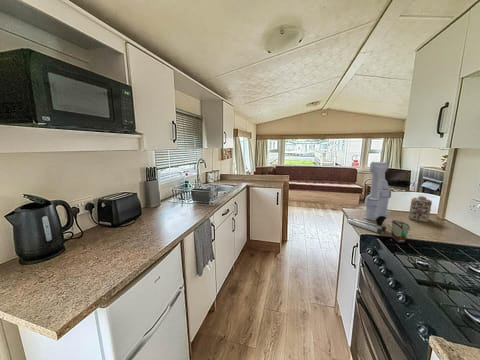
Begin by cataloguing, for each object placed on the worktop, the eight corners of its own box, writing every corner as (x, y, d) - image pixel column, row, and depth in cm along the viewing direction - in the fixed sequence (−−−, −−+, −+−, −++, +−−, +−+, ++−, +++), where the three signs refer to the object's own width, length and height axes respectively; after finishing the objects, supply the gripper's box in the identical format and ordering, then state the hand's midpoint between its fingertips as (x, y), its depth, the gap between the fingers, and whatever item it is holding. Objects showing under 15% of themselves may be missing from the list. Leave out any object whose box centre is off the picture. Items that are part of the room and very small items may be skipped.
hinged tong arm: (348, 222, 149) (349, 218, 149) (349, 221, 150) (350, 217, 150) (385, 231, 134) (385, 227, 134) (385, 230, 136) (386, 226, 135)
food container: (412, 245, 116) (415, 228, 115) (400, 243, 117) (403, 227, 116) (400, 235, 128) (403, 220, 126) (389, 234, 129) (392, 219, 128)
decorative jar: (428, 219, 161) (432, 197, 158) (428, 223, 152) (432, 199, 149) (409, 215, 169) (412, 194, 166) (407, 218, 160) (411, 196, 157)
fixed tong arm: (348, 222, 149) (348, 218, 149) (381, 233, 131) (382, 229, 130) (347, 222, 148) (347, 219, 148) (380, 234, 130) (381, 230, 130)
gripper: (383, 210, 129) (380, 230, 131) (393, 207, 137) (390, 226, 139) (371, 207, 135) (368, 226, 137) (382, 204, 143) (379, 222, 145)
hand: (379, 226), depth 139 cm, fingers closed
